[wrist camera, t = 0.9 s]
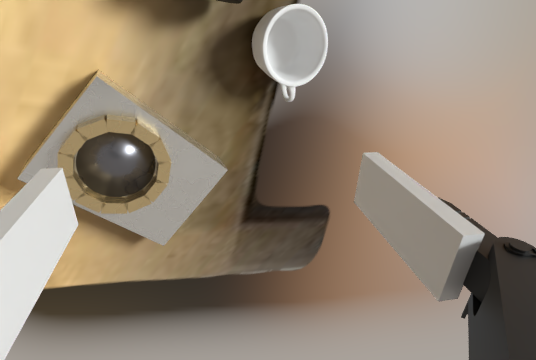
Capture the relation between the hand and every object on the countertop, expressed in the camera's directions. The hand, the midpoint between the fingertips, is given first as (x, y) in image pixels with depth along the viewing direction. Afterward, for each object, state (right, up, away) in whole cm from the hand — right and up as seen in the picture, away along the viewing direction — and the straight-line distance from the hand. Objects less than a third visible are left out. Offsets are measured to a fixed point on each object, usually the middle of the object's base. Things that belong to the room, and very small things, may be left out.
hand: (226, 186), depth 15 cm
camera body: (-13, +3, +22) cm, 26 cm away
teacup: (+3, +15, +24) cm, 28 cm away
